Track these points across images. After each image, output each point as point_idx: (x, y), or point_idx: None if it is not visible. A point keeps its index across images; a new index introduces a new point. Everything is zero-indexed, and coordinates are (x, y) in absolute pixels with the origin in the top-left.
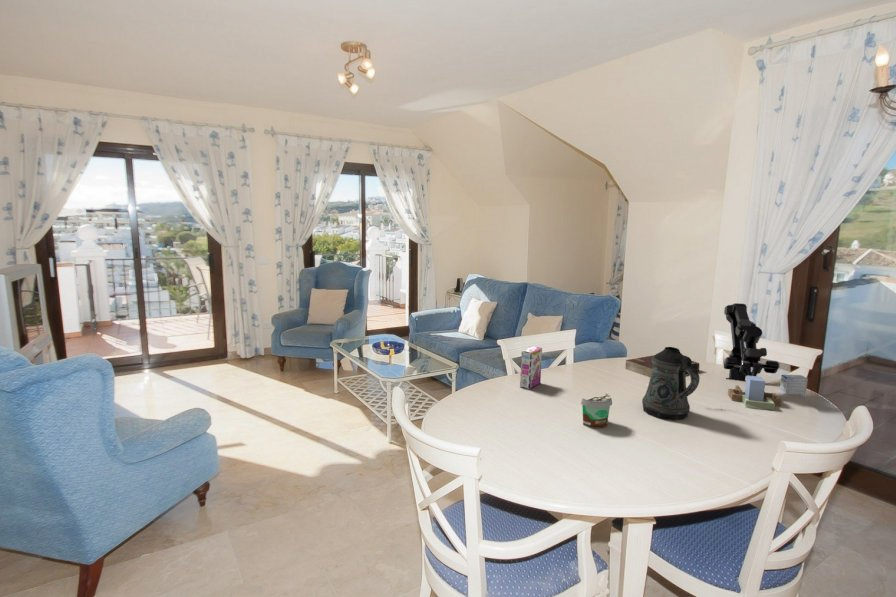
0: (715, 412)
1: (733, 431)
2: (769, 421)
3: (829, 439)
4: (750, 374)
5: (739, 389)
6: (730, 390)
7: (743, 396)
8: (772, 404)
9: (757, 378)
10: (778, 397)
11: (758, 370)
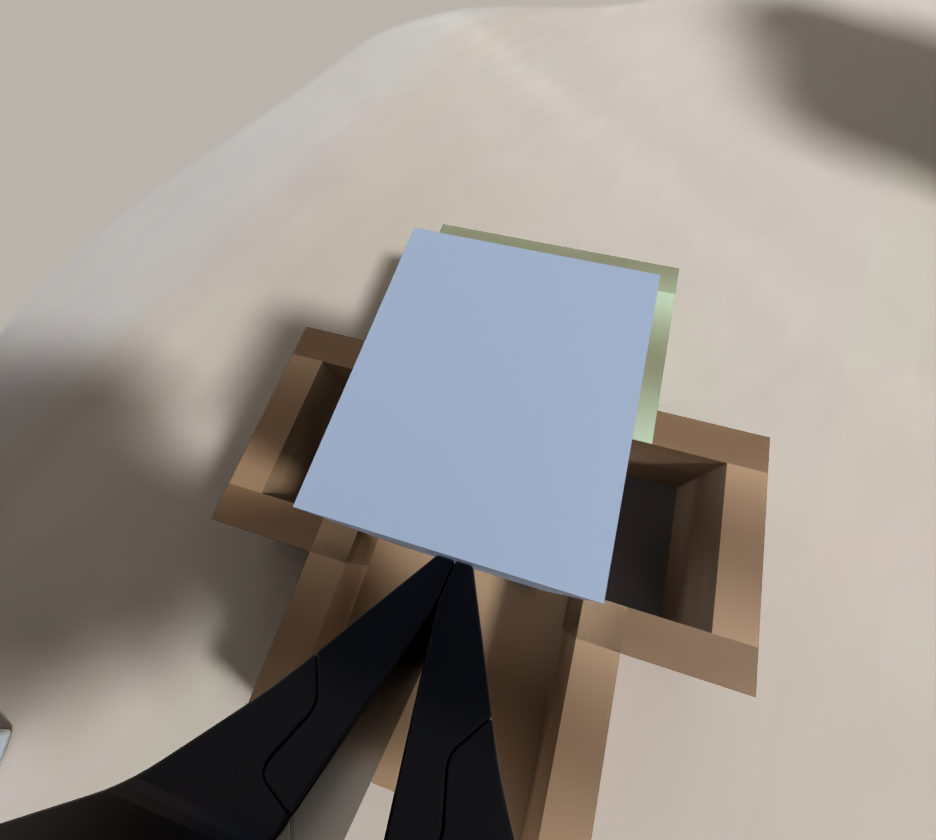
0: (897, 279)
1: (833, 51)
2: (556, 180)
3: (378, 38)
4: (449, 715)
5: (599, 662)
6: (749, 604)
7: (657, 385)
8: (462, 233)
9: (457, 381)
10: (281, 389)
11: (121, 788)
